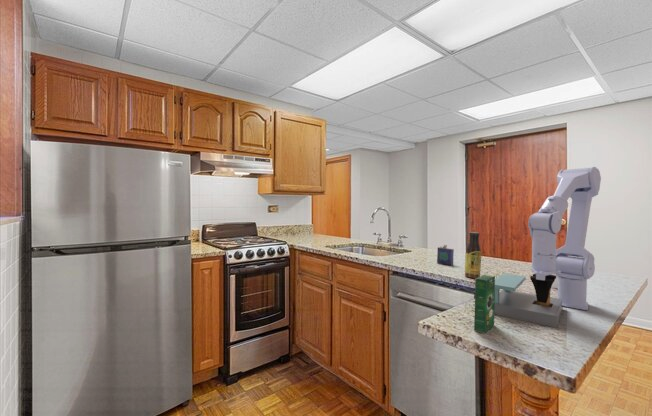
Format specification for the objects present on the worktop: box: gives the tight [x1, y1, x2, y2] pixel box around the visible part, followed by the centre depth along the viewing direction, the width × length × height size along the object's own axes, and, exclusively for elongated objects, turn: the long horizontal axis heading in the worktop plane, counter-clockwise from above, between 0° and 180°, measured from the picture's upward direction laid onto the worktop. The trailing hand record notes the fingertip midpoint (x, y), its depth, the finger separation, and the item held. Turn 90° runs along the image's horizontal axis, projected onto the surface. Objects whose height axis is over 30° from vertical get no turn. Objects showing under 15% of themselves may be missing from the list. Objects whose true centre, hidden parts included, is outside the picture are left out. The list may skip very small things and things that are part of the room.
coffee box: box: [473, 274, 496, 334], centre depth 78 cm, size 8×3×13 cm, turn 137°
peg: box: [536, 288, 552, 307], centre depth 89 cm, size 3×3×8 cm
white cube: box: [551, 274, 558, 290], centre depth 122 cm, size 7×7×7 cm
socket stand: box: [494, 273, 563, 328], centre depth 92 cm, size 20×16×8 cm
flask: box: [436, 244, 455, 267], centre depth 166 cm, size 9×3×11 cm, turn 37°
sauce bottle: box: [464, 231, 482, 279], centre depth 136 cm, size 6×6×20 cm
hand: (542, 300), depth 89 cm, fingers closed on peg, 3 cm apart
